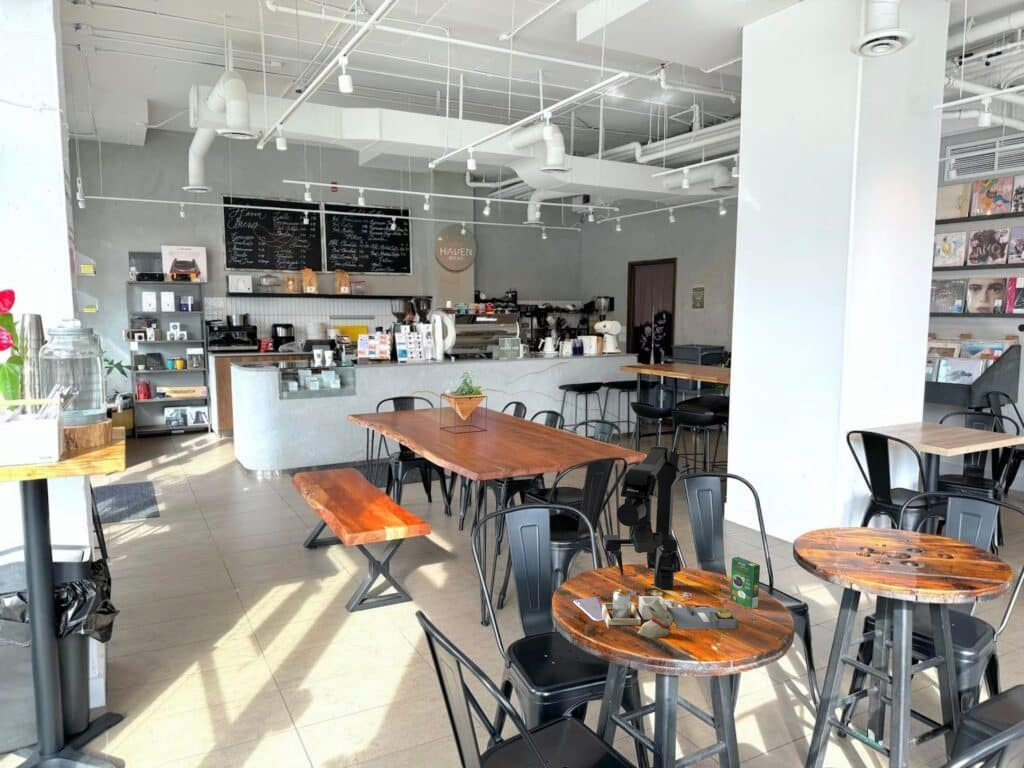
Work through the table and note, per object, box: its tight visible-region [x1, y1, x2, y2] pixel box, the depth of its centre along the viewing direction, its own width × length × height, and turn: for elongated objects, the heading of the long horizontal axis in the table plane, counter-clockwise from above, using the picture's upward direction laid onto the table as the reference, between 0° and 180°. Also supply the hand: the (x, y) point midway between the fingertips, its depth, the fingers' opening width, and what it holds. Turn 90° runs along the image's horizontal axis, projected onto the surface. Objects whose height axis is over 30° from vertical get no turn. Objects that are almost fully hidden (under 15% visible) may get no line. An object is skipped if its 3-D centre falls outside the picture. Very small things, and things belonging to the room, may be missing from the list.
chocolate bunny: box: [637, 599, 674, 639], centre depth 176 cm, size 6×8×10 cm
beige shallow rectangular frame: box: [601, 602, 642, 631], centre depth 187 cm, size 11×8×3 cm
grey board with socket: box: [666, 603, 740, 630], centre depth 187 cm, size 14×16×3 cm
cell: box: [612, 588, 631, 619], centre depth 187 cm, size 4×4×7 cm
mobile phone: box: [573, 596, 605, 622], centre depth 195 cm, size 8×1×15 cm
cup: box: [638, 595, 668, 620], centre depth 188 cm, size 6×6×5 cm
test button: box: [718, 608, 732, 619], centre depth 183 cm, size 3×3×2 cm
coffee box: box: [729, 556, 761, 610], centre depth 196 cm, size 8×3×13 cm, turn 29°
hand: (639, 574), depth 189 cm, fingers open, 9 cm apart
